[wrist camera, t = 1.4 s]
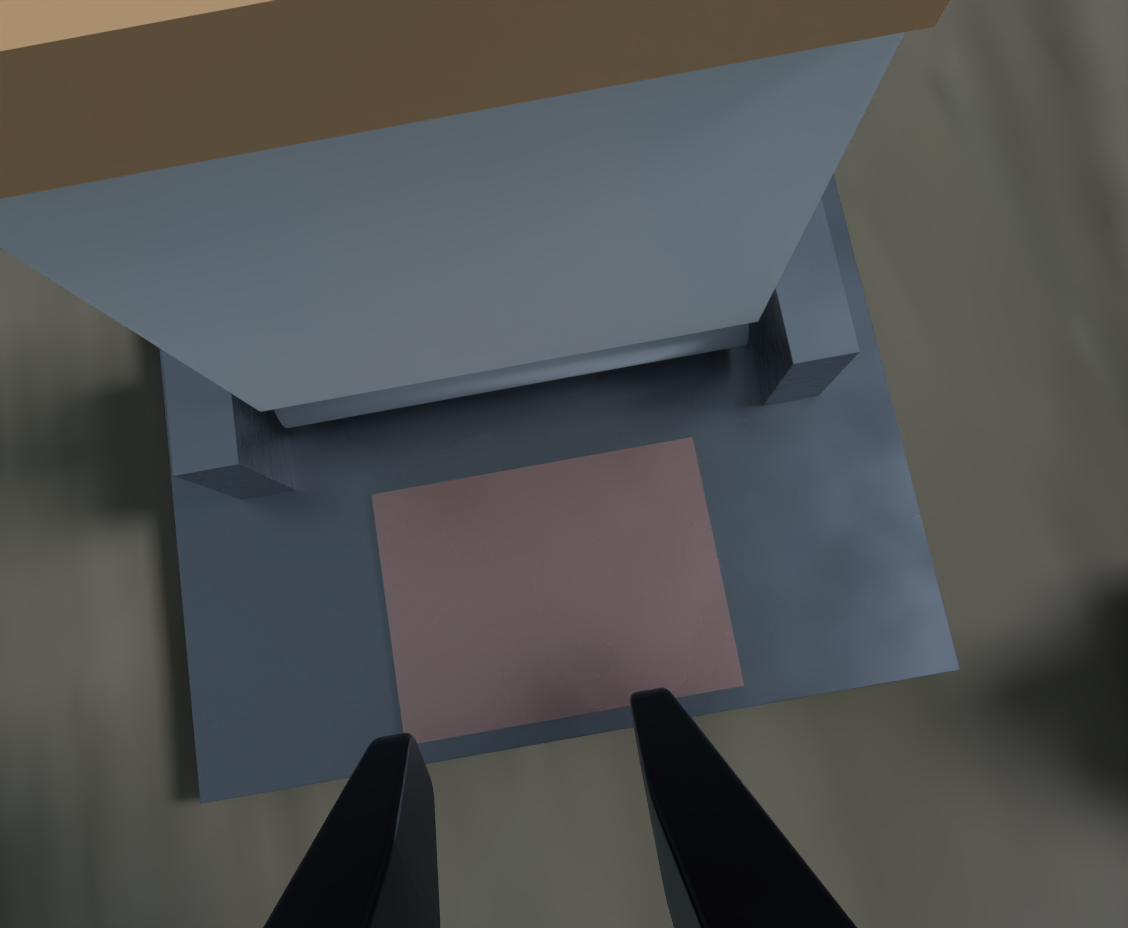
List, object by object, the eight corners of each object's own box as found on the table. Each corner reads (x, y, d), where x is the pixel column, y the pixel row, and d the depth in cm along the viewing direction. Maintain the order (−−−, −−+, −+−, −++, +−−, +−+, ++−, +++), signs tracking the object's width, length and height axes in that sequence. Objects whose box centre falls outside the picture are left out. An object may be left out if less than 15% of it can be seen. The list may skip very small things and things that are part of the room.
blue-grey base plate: (943, 667, 21) (1032, 677, 17) (218, 795, 22) (119, 838, 17) (781, 23, 25) (820, -109, 20) (156, 138, 25) (60, 32, 20)
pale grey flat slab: (745, 369, 21) (1026, -141, 7) (298, 450, 21) (-293, 106, 7) (724, 277, 22) (950, -372, 8) (287, 357, 22) (-290, -139, 8)
